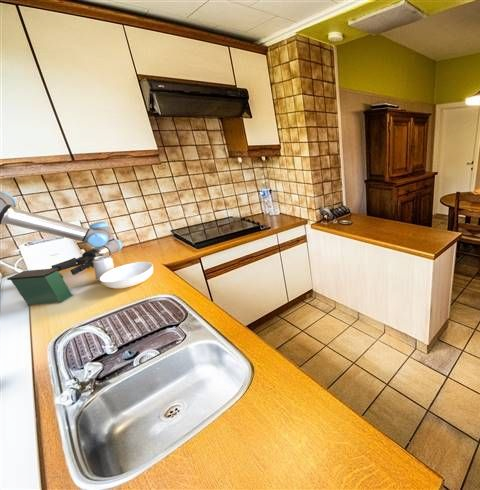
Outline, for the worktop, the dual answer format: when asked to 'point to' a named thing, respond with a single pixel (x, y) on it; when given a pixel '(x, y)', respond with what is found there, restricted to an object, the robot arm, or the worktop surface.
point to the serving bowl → (127, 275)
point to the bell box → (41, 286)
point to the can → (102, 265)
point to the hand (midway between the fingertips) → (58, 273)
